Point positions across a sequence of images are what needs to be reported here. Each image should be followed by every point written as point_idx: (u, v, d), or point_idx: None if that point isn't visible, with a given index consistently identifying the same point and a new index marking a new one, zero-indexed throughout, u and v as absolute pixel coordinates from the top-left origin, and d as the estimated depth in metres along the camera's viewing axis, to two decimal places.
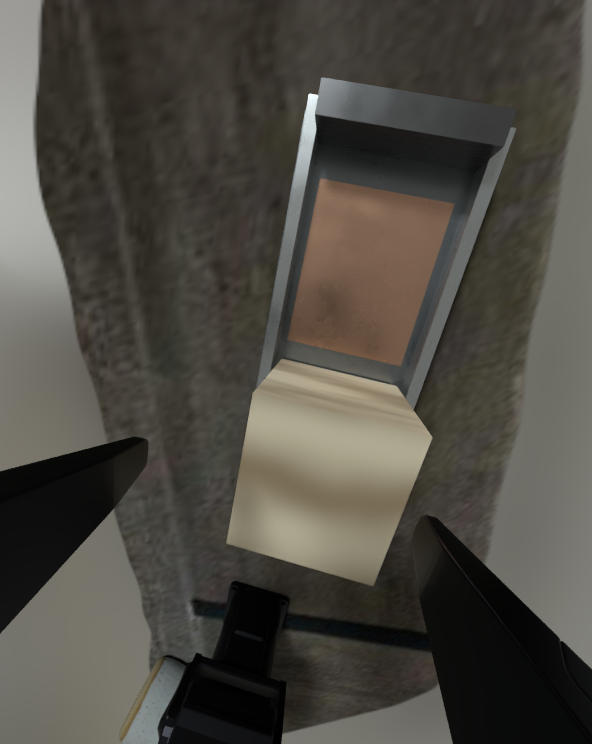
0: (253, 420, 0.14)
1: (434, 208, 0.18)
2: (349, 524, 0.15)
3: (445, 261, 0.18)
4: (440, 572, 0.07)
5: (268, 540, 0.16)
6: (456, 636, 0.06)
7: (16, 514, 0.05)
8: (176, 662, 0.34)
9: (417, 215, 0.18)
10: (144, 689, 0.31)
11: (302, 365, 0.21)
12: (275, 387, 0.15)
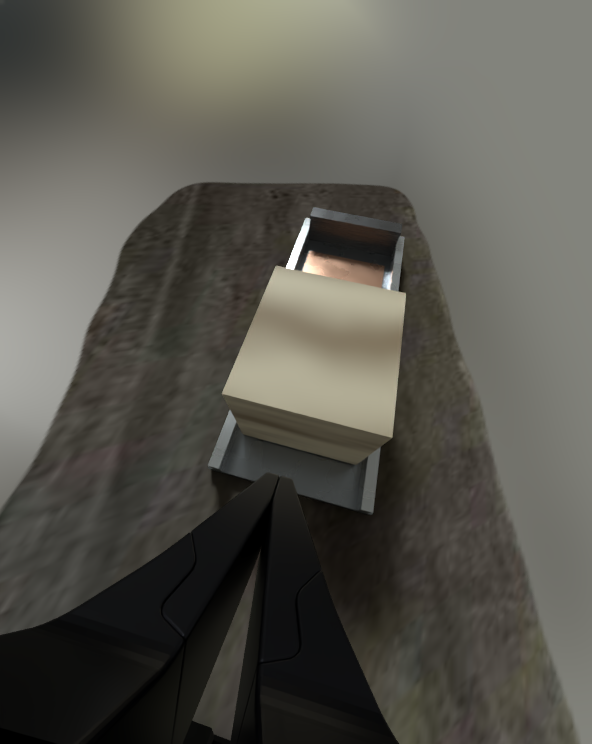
0: (273, 281, 0.18)
1: (374, 267, 0.31)
2: (356, 362, 0.16)
3: (387, 287, 0.30)
4: (267, 523, 0.07)
5: (272, 386, 0.15)
6: (259, 577, 0.06)
7: (230, 579, 0.05)
8: None
9: (366, 269, 0.31)
10: None
11: None
12: None
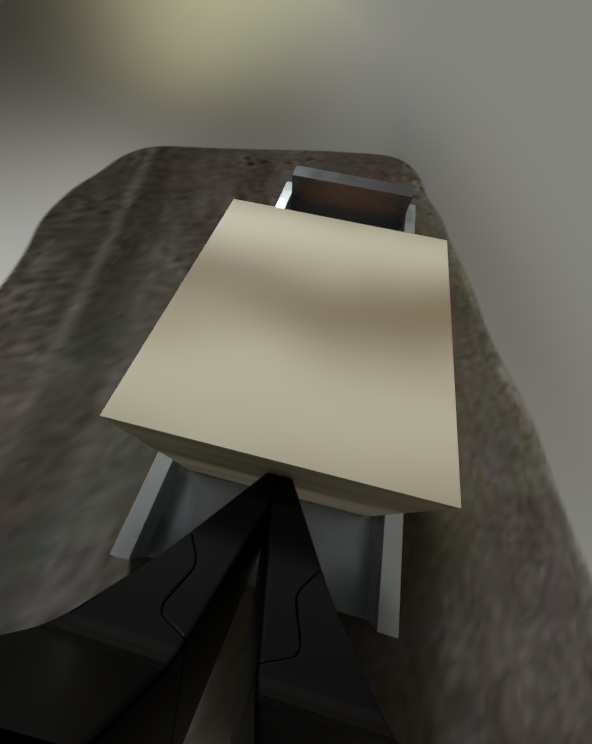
0: (228, 220, 0.11)
1: None
2: (373, 350, 0.08)
3: None
4: (267, 523, 0.07)
5: (209, 398, 0.07)
6: (258, 577, 0.06)
7: (230, 579, 0.05)
8: None
9: None
10: None
11: None
12: None
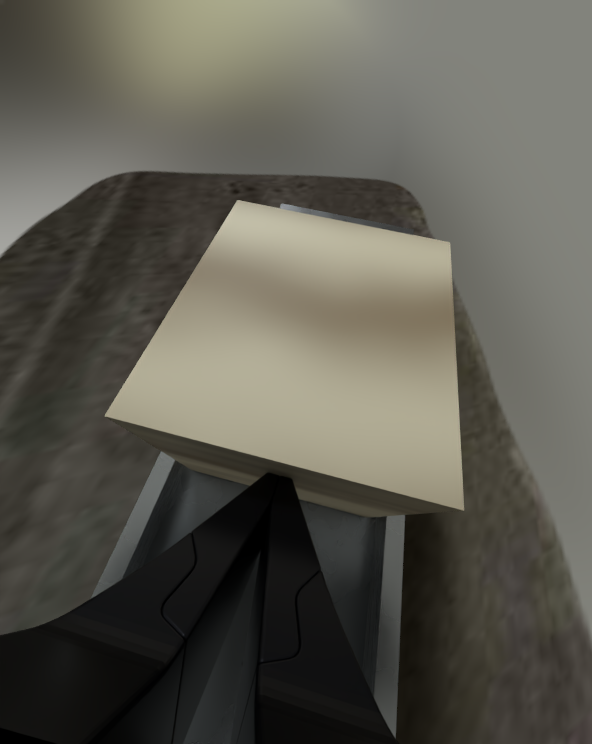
0: (231, 222, 0.11)
1: None
2: (376, 352, 0.08)
3: None
4: (267, 523, 0.07)
5: (213, 399, 0.07)
6: (258, 577, 0.06)
7: (230, 579, 0.05)
8: None
9: None
10: None
11: None
12: None
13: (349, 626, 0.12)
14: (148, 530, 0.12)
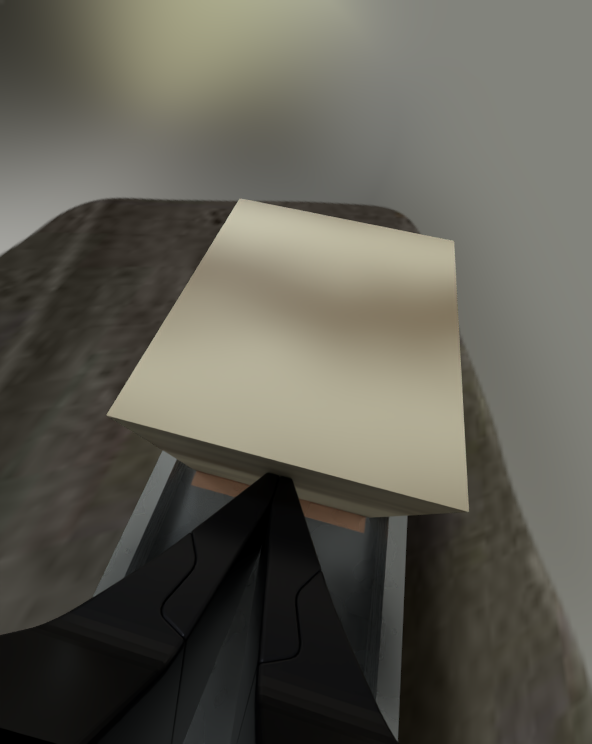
0: (233, 220, 0.11)
1: None
2: (380, 352, 0.08)
3: None
4: (267, 523, 0.07)
5: (215, 398, 0.07)
6: (258, 577, 0.06)
7: (230, 579, 0.05)
8: None
9: None
10: None
11: None
12: None
13: None
14: None
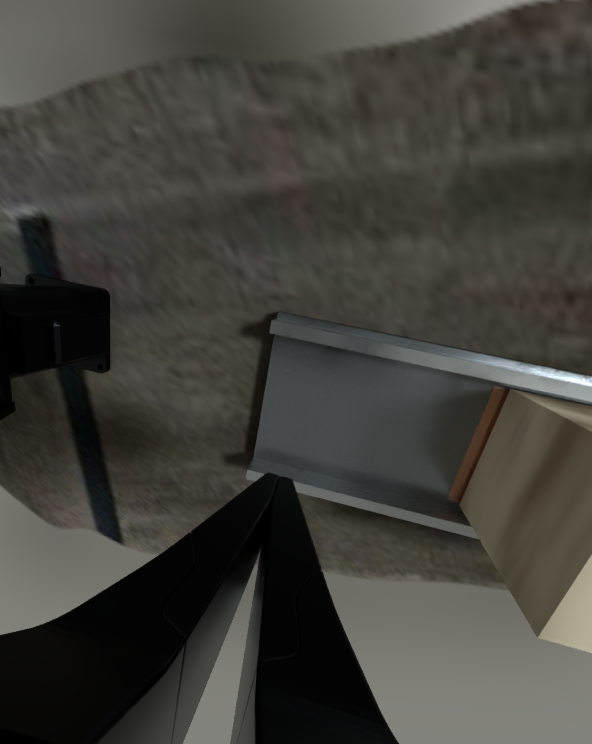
0: None
1: None
2: None
3: None
4: (267, 523, 0.07)
5: None
6: (258, 577, 0.06)
7: (230, 579, 0.05)
8: None
9: None
10: None
11: None
12: None
13: (324, 466, 0.21)
14: None
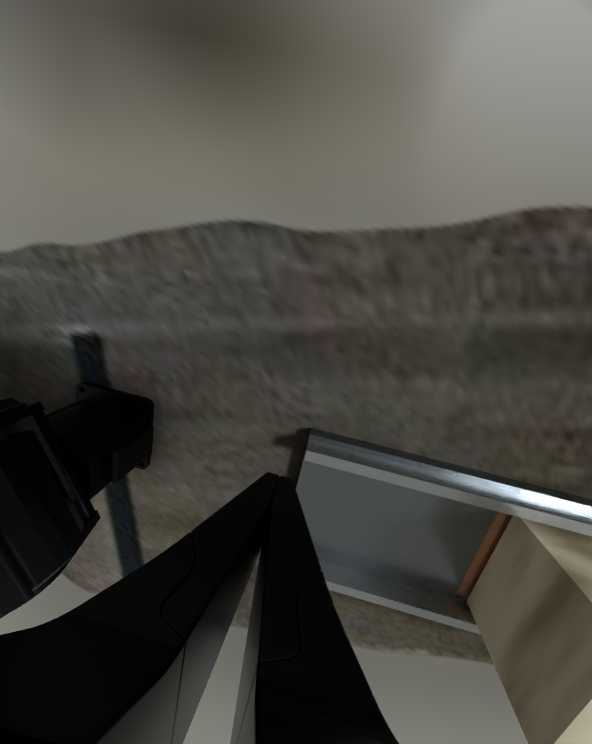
0: None
1: None
2: None
3: None
4: (267, 523, 0.07)
5: None
6: (258, 577, 0.06)
7: (230, 579, 0.05)
8: None
9: None
10: None
11: None
12: None
13: (345, 560, 0.23)
14: None
